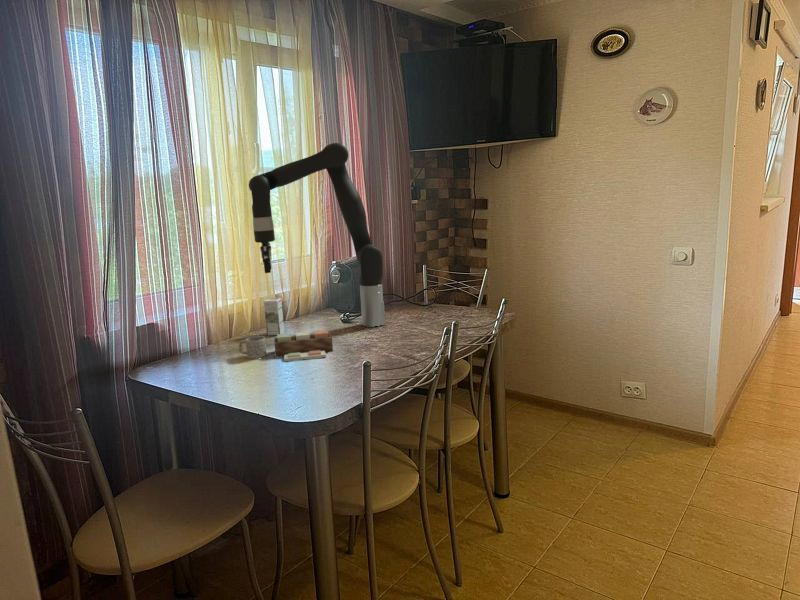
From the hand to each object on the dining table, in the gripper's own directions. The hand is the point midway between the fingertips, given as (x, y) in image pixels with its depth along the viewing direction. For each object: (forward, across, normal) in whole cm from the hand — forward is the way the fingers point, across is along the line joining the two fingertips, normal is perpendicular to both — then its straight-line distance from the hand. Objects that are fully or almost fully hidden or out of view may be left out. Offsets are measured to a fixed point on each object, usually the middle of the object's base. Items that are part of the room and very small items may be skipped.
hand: (268, 271), depth 221 cm
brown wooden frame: (+27, -23, -11) cm, 37 cm away
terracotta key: (+23, -23, -17) cm, 37 cm away
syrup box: (+27, +5, 0) cm, 27 cm away
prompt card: (+27, -31, -11) cm, 43 cm away
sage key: (+23, -24, -4) cm, 33 cm away
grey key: (+23, -23, -11) cm, 34 cm away
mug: (+27, -24, +7) cm, 36 cm away
